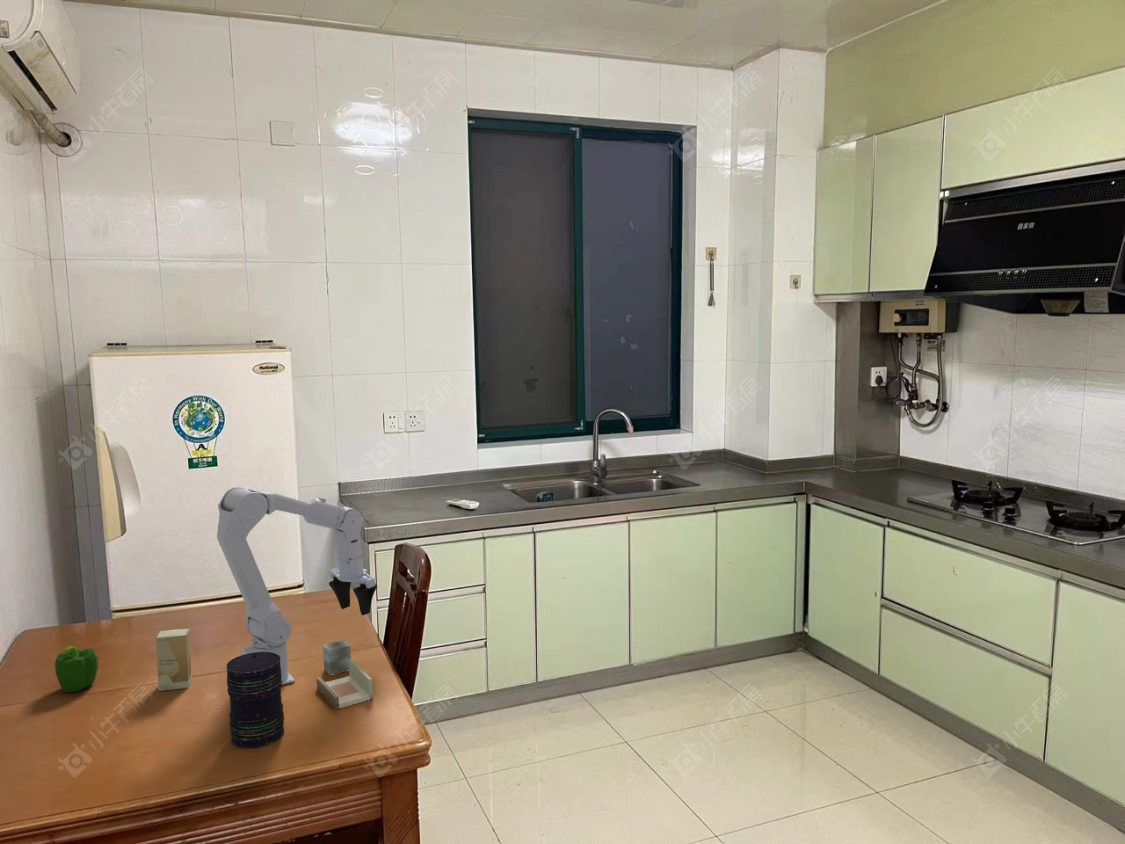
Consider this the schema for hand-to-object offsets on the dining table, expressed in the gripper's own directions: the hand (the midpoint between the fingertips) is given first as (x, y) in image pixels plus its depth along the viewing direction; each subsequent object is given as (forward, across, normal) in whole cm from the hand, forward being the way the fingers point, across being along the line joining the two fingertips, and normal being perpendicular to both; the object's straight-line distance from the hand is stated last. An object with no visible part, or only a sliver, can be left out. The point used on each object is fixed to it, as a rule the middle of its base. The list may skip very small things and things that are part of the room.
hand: (355, 610), depth 197 cm
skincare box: (+8, +18, +36) cm, 41 cm away
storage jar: (+8, -17, +38) cm, 43 cm away
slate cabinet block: (+10, -4, +10) cm, 15 cm away
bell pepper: (+7, +35, +50) cm, 61 cm away
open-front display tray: (+10, -16, +17) cm, 25 cm away
